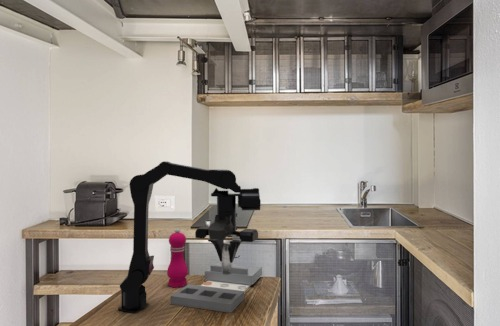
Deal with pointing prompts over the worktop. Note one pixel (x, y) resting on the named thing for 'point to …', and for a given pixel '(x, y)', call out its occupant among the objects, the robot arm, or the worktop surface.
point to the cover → (234, 274)
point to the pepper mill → (177, 260)
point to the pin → (226, 259)
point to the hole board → (208, 298)
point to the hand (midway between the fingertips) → (226, 261)
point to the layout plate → (226, 285)
